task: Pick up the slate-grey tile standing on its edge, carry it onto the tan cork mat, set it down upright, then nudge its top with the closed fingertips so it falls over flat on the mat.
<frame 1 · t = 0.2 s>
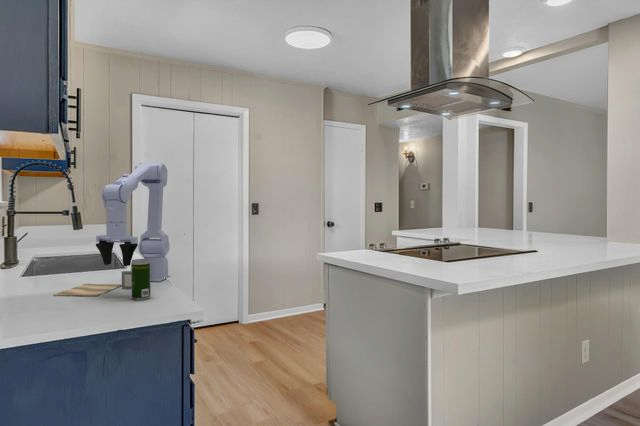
hand: (117, 265, 128), 10 cm above the worktop, fingers open, 7 cm apart
mat: (90, 290, 135), on the worktop
tile: (134, 288, 138), on the worktop
guarana soda can: (141, 299, 125), on the worktop
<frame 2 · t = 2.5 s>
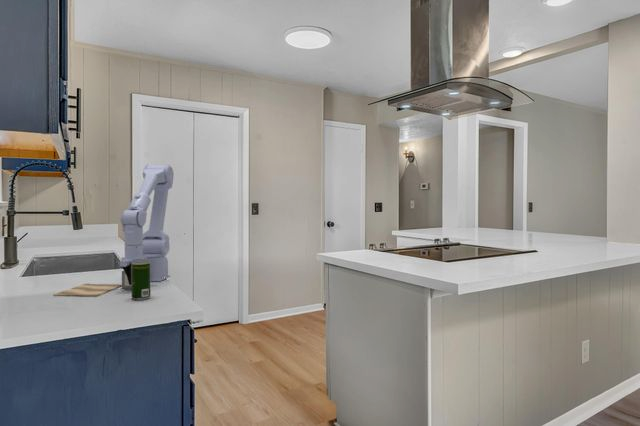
hand: (134, 284, 138), 1 cm above the worktop, fingers closed on tile, 1 cm apart
tile: (134, 288, 139), on the worktop, touching gripper
everything else where it was.
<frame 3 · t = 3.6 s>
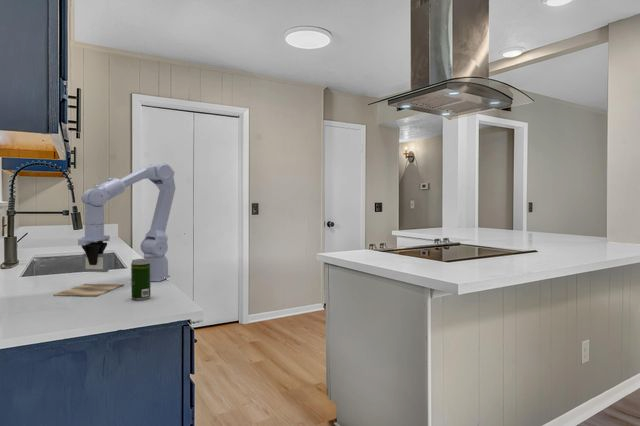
hand: (94, 264, 137), 8 cm above the worktop, fingers closed on tile
tile: (95, 271, 137), point 6 cm above the worktop, touching gripper
everything else where it was.
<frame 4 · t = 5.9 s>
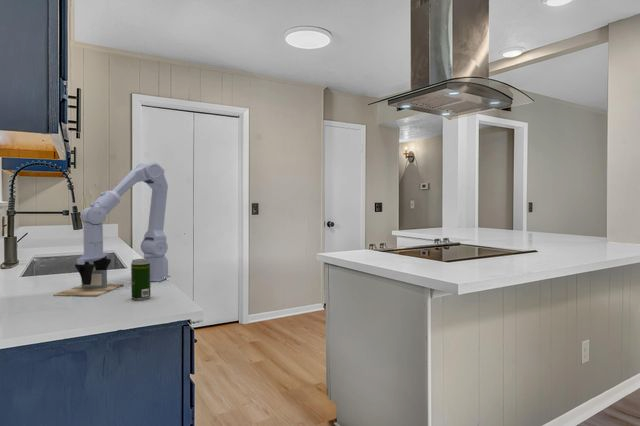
hand: (94, 282, 137), 2 cm above the worktop, fingers open, 7 cm apart
tile: (94, 287, 137), resting on mat
everything else where it was.
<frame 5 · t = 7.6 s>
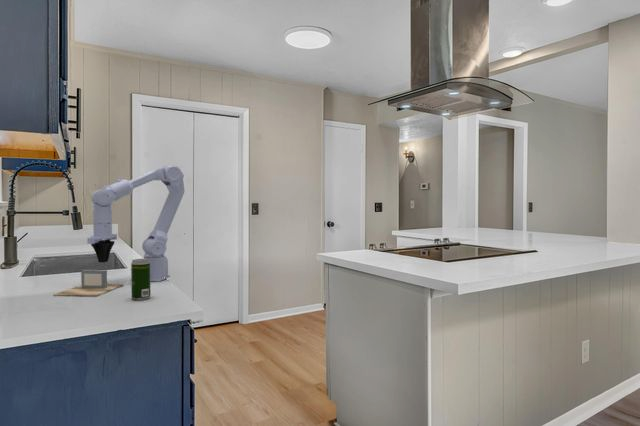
hand: (103, 261, 142), 8 cm above the worktop, fingers closed
nothing on the worktop moved.
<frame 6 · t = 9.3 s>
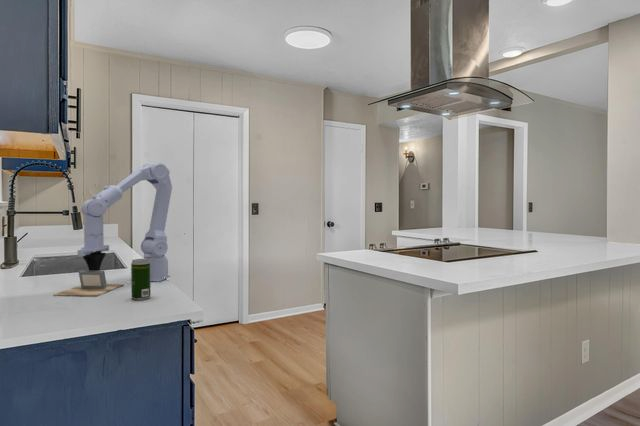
hand: (94, 274, 137), 5 cm above the worktop, fingers closed
tile: (94, 287, 137), point 1 cm above the worktop, tilted 14°, touching mat
everything else where it was.
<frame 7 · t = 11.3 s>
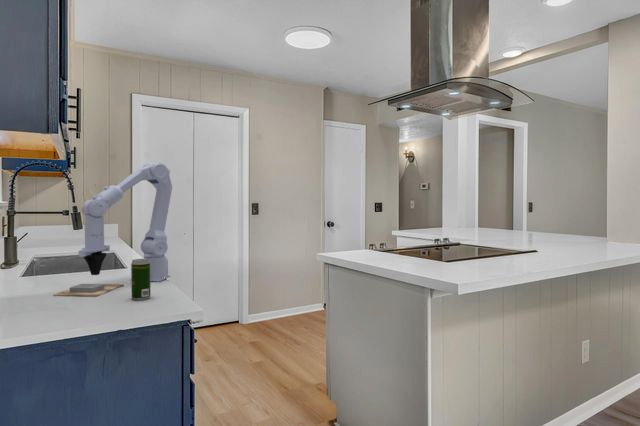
hand: (95, 274, 138), 5 cm above the worktop, fingers closed
tile: (92, 286, 136), point 1 cm above the worktop, tilted 90°, touching mat
everything else where it was.
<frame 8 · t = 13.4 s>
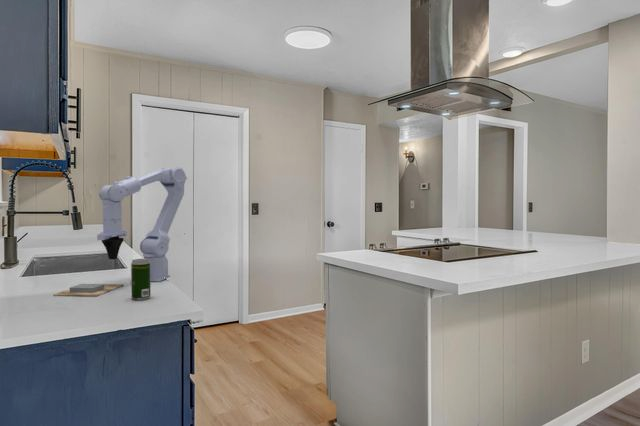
hand: (112, 259, 139), 10 cm above the worktop, fingers closed
nothing on the worktop moved.
at the end: tile tilted 90°; tile inside the target area (1.7 cm from its centre), point 1.2 cm above the worktop; the gripper is holding nothing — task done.
